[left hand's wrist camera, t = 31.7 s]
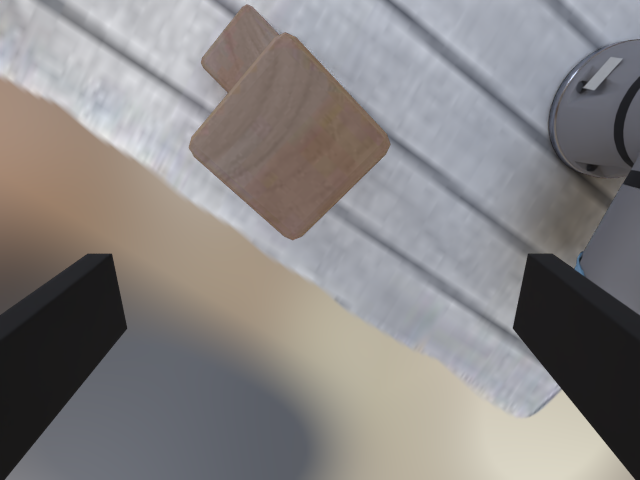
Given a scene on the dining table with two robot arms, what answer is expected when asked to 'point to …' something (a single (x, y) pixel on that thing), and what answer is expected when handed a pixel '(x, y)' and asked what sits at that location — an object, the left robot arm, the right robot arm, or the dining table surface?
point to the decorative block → (282, 127)
